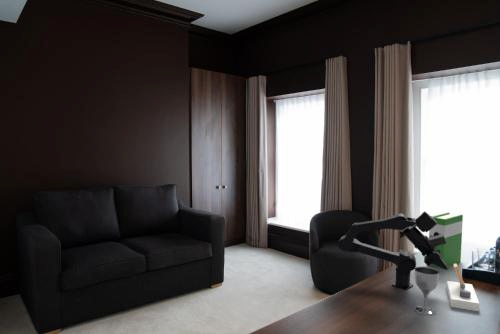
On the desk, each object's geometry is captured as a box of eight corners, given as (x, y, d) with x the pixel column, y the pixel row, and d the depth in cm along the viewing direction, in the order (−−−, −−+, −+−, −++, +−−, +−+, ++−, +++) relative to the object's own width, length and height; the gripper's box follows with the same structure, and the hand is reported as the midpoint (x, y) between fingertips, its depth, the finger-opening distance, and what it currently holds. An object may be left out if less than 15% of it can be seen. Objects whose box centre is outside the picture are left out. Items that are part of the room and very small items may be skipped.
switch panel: (450, 306, 139) (451, 299, 139) (446, 287, 156) (447, 280, 156) (479, 311, 135) (479, 303, 135) (471, 291, 153) (471, 284, 153)
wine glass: (427, 317, 131) (429, 275, 129) (408, 308, 138) (409, 268, 136) (442, 312, 134) (444, 272, 133) (422, 303, 141) (424, 265, 140)
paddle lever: (461, 288, 148) (453, 267, 148) (460, 284, 152) (452, 263, 152) (465, 288, 147) (458, 266, 148) (464, 284, 151) (457, 263, 152)
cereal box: (445, 257, 195) (447, 212, 193) (460, 261, 189) (462, 214, 187) (427, 264, 185) (429, 216, 183) (442, 269, 179) (445, 219, 177)
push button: (460, 296, 140) (460, 292, 140) (459, 292, 144) (459, 289, 144) (471, 298, 139) (471, 294, 139) (469, 294, 142) (470, 290, 142)
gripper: (434, 232, 144) (466, 264, 140) (432, 222, 161) (460, 250, 157) (411, 250, 147) (442, 281, 144) (412, 238, 164) (439, 266, 161)
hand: (446, 269), depth 151 cm, fingers closed
